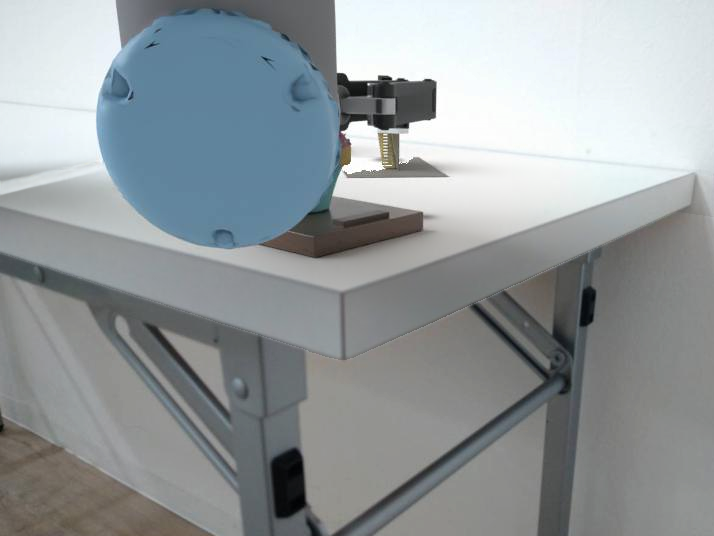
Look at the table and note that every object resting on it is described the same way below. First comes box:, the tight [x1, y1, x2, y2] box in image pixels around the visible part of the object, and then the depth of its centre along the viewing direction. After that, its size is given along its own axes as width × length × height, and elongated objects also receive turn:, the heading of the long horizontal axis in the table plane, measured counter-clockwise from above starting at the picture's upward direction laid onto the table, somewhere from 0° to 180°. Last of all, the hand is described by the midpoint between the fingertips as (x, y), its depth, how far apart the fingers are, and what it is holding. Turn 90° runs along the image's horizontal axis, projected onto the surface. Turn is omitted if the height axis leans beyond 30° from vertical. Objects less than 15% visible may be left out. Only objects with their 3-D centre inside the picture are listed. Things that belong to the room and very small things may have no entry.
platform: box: [343, 125, 449, 178], centre depth 93 cm, size 12×18×7 cm, turn 14°
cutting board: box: [260, 195, 424, 258], centre depth 59 cm, size 16×12×2 cm
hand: (294, 91), depth 57 cm, fingers open, 13 cm apart
